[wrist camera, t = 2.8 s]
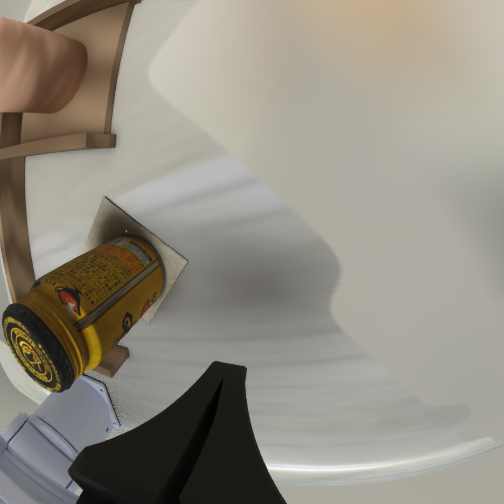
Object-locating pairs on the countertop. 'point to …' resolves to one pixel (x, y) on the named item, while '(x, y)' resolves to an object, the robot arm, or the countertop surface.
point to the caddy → (54, 110)
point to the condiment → (90, 300)
